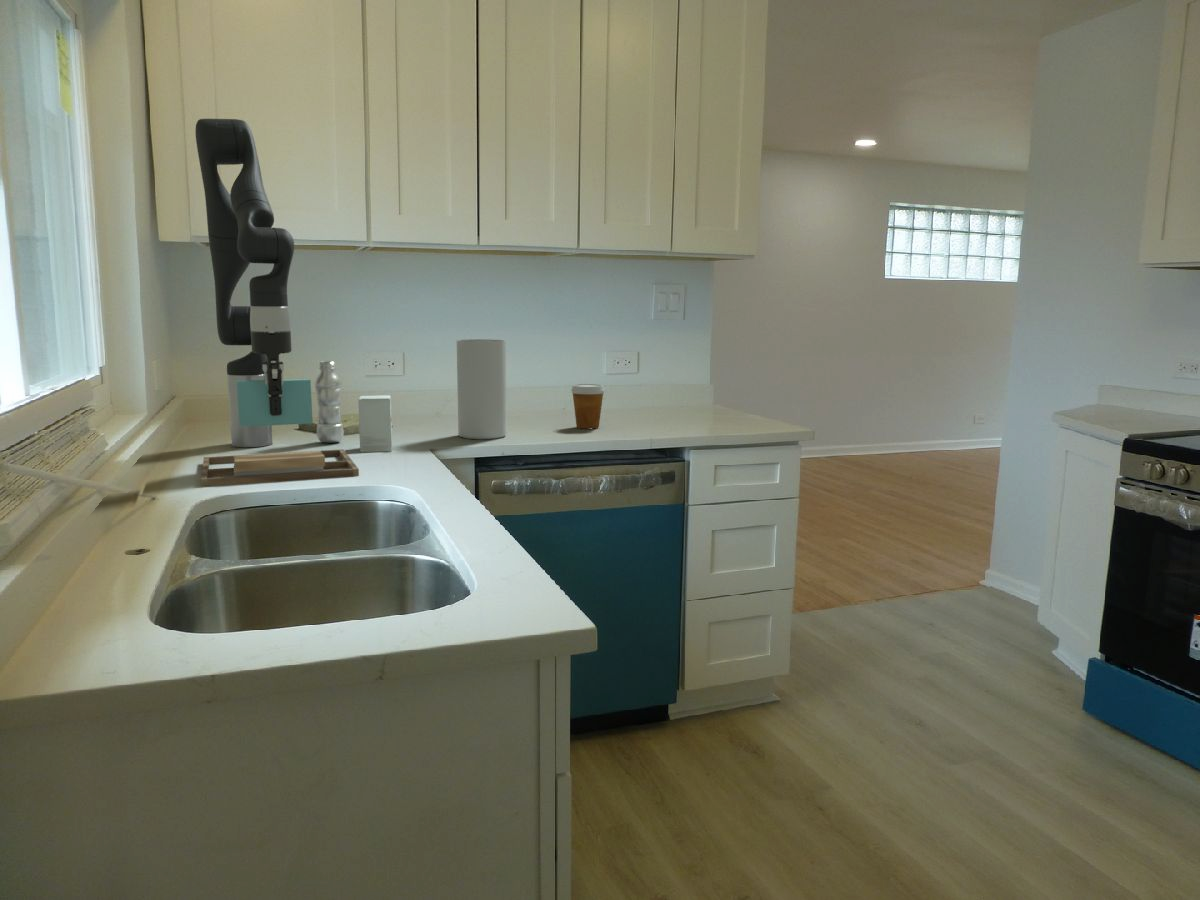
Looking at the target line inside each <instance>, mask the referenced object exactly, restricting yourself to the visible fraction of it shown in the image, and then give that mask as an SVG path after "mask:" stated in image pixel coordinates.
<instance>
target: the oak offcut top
mask: <svg viewBox="0 0 1200 900" xmlns="http://www.w3.org/2000/svg"><path fill="white" fill-rule="evenodd" d="M321 451H322V450H308V451H306V450H304V451H291V452H290V451H289V452H288V451H287V452H274V453H273V452H271V453H272V454H271V453H259V454H258V453H257V454H256V453H255V454H256V455H253V454H240V455H239V454H238V455H239V456H236V455H233V456H234V463H233V468H234V467H235V471H236V472H249V471H263V470H278V469H293V468H307V467H322V466H325V462H326V457H325V456H324V455H323V454H322V452H321Z"/></svg>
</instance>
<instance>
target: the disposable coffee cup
mask: <svg viewBox="0 0 1200 900" xmlns="http://www.w3.org/2000/svg"><path fill="white" fill-rule="evenodd" d="M570 391H571V393H572V399H573V408H574V415H575V425H576V428H577V427H578V428H577V429H580V428H596V429H599V428H598V427H600V421H601V413H602V404H603V399H604V398H603V396H604V394H605V391H606V390H605V387H604V385H603V384H598V383H576V384H573V385H572V387H571V389H570Z"/></svg>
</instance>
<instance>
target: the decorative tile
mask: <svg viewBox="0 0 1200 900" xmlns="http://www.w3.org/2000/svg"><path fill="white" fill-rule="evenodd" d="M312 420H313V423H310V424H297V426H298V429H299V428H301V429H300V430H304V429H305V431H309V430H310V431H311V432H315V433H317V425H318V416H314V417H313V416H312ZM341 421H342V422H341V423H342V425H343V430H344V434H343V437H344V436H345V437H346V436H352V435H360V432H359V413H346V414H341ZM392 429H393V425H392Z"/></svg>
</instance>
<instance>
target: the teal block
mask: <svg viewBox="0 0 1200 900" xmlns="http://www.w3.org/2000/svg"><path fill="white" fill-rule="evenodd" d="M271 389H278V385H276V386H271ZM237 396H238V411H239V426H240V427H246V426H267V425H272V426H284V425H298V424H310V423H313V420H312V417H313V403H312V399H313V398H312V383H311V378H299V379H295V378H294V379H290V378H289V379H283V385H282V395H281V409H282V414H281V415H278V416H272V415H271V414H270V404H269V395H268V386H267V385H265V380H252V381H237Z"/></svg>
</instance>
